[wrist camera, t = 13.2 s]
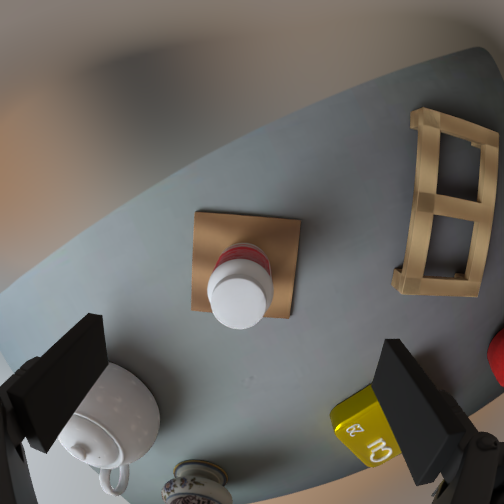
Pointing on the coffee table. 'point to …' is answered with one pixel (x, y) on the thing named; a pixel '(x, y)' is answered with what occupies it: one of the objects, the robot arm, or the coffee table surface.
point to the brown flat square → (253, 232)
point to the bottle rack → (447, 206)
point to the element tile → (365, 428)
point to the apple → (497, 356)
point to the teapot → (113, 425)
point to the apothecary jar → (197, 484)
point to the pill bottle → (241, 286)
